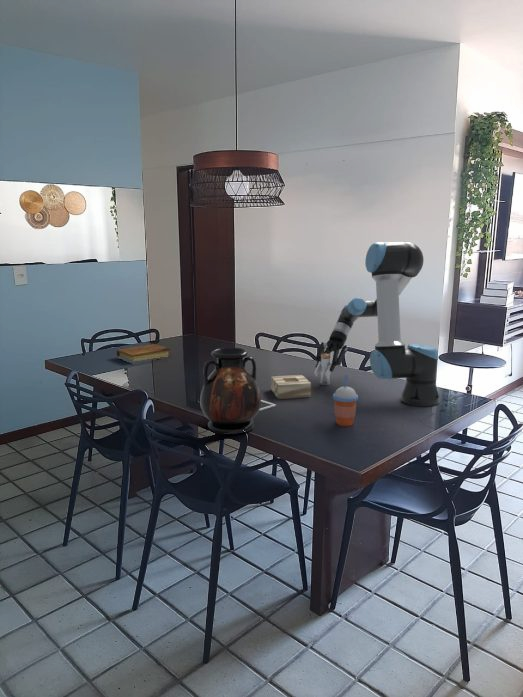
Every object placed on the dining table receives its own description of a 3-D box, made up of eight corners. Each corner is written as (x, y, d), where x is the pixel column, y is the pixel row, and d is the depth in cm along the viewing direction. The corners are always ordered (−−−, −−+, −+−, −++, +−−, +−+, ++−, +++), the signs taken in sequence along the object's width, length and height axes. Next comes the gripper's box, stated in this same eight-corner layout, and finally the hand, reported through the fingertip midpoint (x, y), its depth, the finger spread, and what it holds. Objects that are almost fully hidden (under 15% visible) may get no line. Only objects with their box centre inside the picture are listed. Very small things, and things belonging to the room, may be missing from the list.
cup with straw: (354, 418, 201) (356, 372, 197) (359, 427, 192) (361, 378, 188) (330, 419, 200) (331, 372, 197) (334, 427, 191) (335, 378, 188)
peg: (330, 384, 246) (331, 354, 243) (322, 385, 245) (322, 355, 242) (328, 382, 250) (328, 352, 247) (319, 382, 249) (319, 353, 246)
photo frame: (246, 394, 229) (275, 404, 216) (246, 397, 230) (275, 406, 217) (219, 402, 220) (248, 412, 207) (219, 404, 220) (248, 415, 207)
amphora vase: (249, 414, 206) (248, 342, 200) (270, 433, 186) (270, 354, 180) (194, 422, 198) (191, 347, 193) (210, 442, 179) (208, 360, 173)
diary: (153, 353, 316) (152, 343, 315) (170, 358, 302) (169, 348, 301) (117, 359, 301) (116, 349, 300) (133, 365, 287) (132, 354, 286)
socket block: (310, 396, 228) (310, 383, 227) (278, 398, 226) (278, 385, 224) (302, 387, 242) (302, 374, 240) (271, 389, 239) (271, 376, 238)
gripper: (359, 341, 251) (341, 383, 241) (325, 337, 261) (307, 377, 252) (354, 331, 245) (335, 374, 236) (320, 327, 256) (301, 368, 246)
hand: (321, 375), depth 244 cm, fingers open, 5 cm apart
